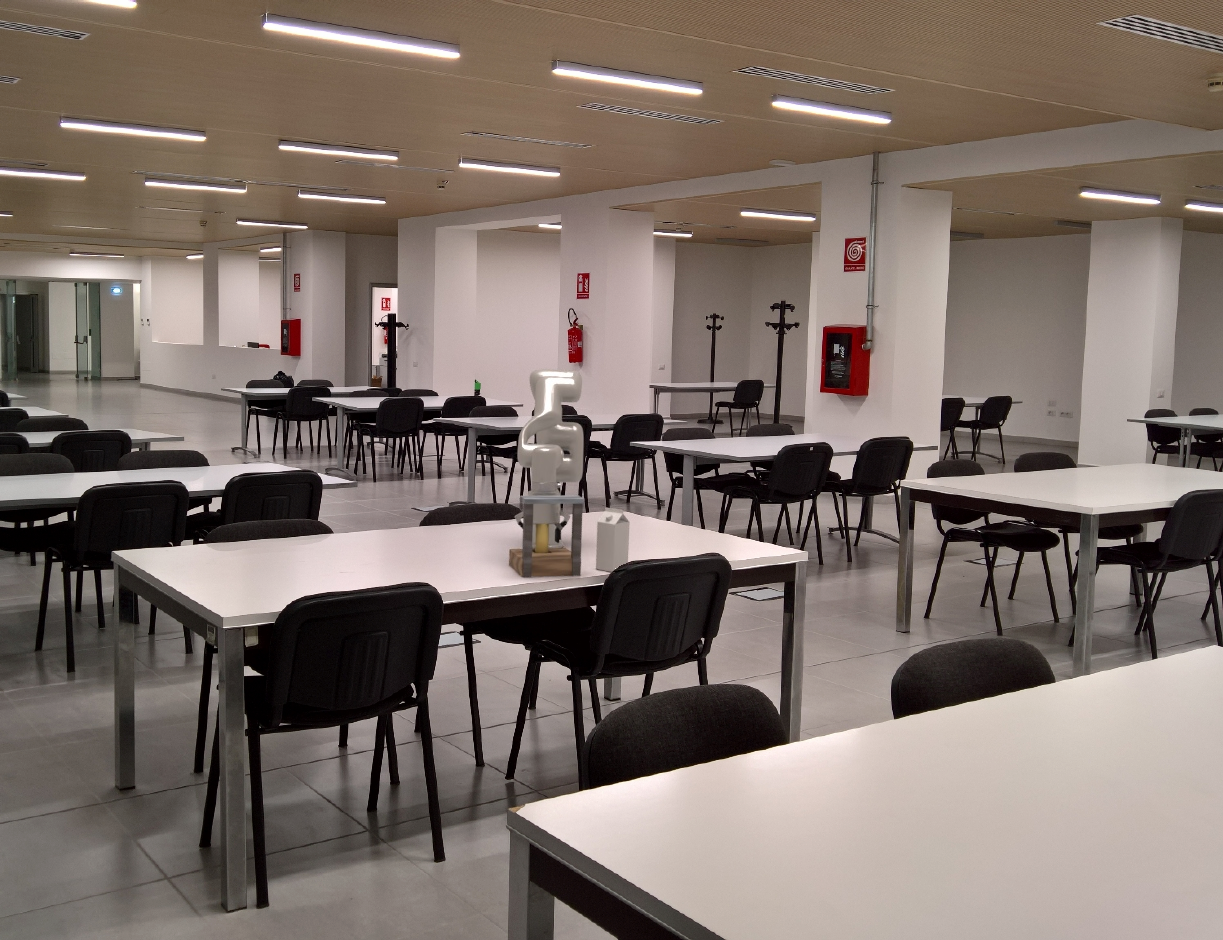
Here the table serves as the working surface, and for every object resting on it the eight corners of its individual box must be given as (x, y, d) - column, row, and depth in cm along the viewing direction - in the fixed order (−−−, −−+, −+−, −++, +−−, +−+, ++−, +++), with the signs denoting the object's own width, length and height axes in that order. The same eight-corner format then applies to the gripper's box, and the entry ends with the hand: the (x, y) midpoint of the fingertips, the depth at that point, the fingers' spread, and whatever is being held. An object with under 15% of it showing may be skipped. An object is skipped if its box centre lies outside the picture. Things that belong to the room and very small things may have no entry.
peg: (533, 566, 347) (534, 521, 346) (545, 565, 349) (547, 521, 347) (536, 568, 344) (537, 523, 342) (549, 568, 345) (550, 523, 343)
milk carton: (610, 566, 352) (612, 506, 350) (627, 569, 347) (630, 509, 345) (595, 569, 346) (597, 508, 344) (613, 572, 342) (615, 511, 340)
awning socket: (509, 564, 348) (511, 490, 346) (565, 563, 354) (567, 489, 351) (523, 577, 330) (525, 499, 327) (581, 576, 335) (584, 498, 333)
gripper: (567, 485, 350) (565, 539, 351) (513, 485, 344) (511, 540, 346) (573, 488, 342) (572, 544, 344) (518, 489, 337) (516, 545, 339)
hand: (541, 542), depth 345 cm, fingers open, 9 cm apart
